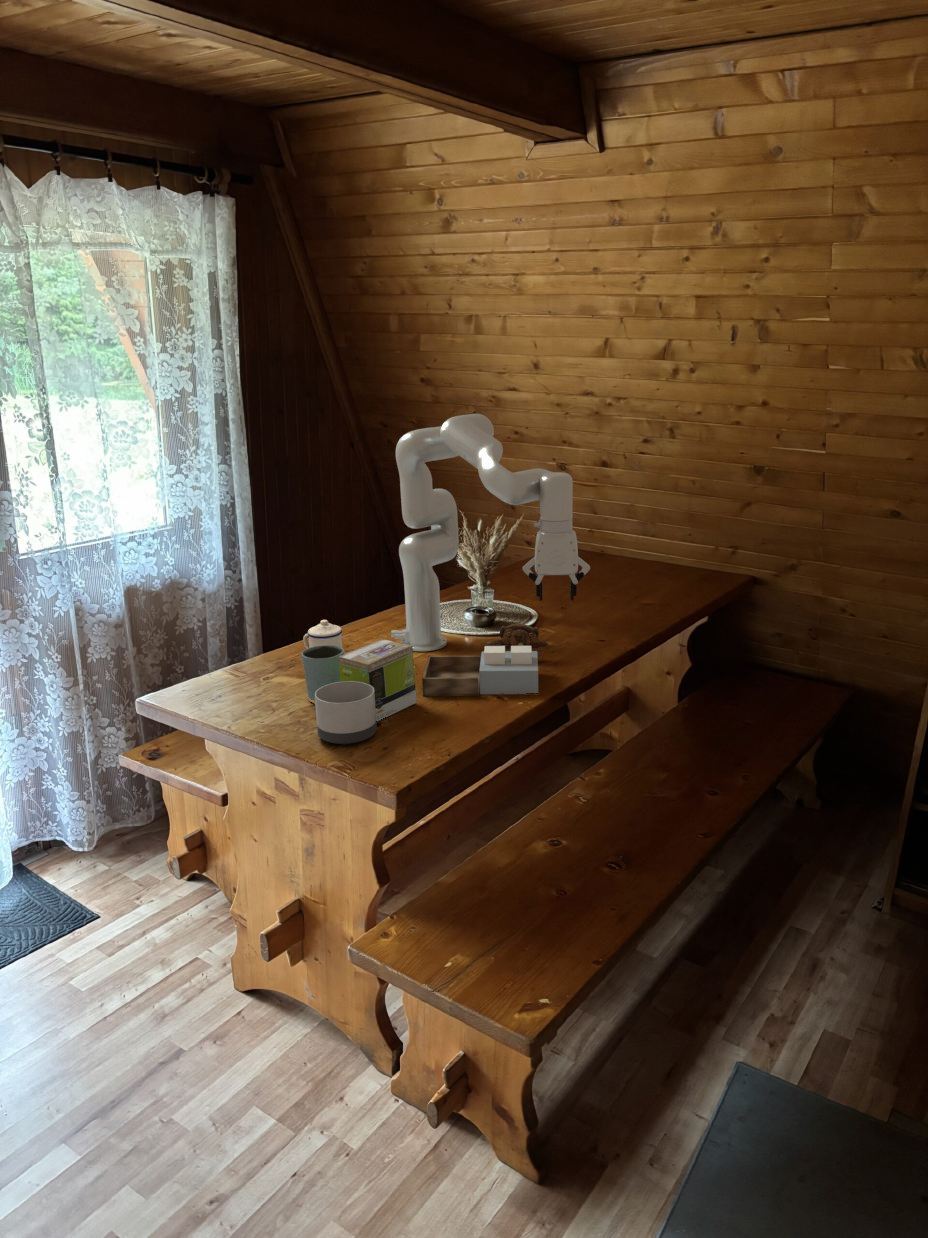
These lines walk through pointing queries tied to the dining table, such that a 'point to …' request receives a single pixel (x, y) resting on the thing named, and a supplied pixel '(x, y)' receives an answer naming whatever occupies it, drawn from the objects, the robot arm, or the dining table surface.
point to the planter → (345, 712)
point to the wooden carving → (519, 638)
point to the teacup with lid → (323, 635)
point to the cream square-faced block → (494, 655)
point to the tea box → (383, 674)
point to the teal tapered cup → (321, 667)
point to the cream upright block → (521, 655)
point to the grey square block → (509, 676)
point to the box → (451, 676)
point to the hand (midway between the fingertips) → (556, 598)
